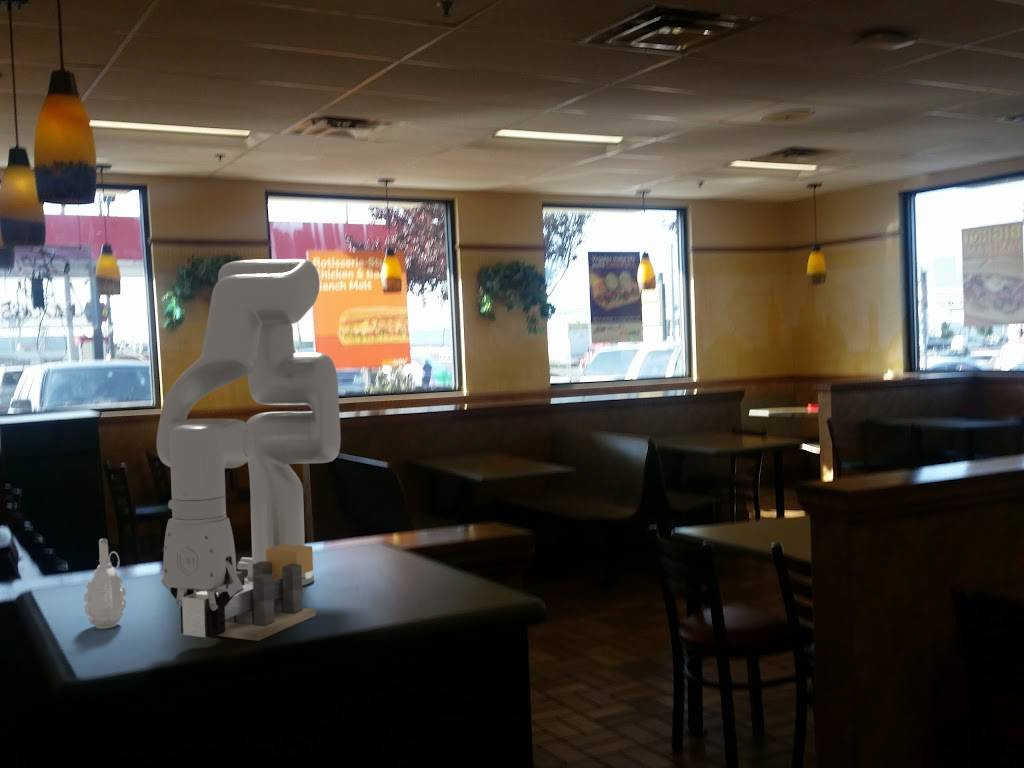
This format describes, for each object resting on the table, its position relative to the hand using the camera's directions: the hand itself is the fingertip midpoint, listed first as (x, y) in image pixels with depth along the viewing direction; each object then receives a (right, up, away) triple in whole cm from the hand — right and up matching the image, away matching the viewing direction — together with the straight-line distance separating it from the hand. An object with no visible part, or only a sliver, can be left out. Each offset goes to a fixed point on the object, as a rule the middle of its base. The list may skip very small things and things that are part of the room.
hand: (203, 632), depth 152 cm
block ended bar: (+4, 0, +9) cm, 10 cm away
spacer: (+9, +5, +20) cm, 22 cm away
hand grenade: (-19, -2, +12) cm, 22 cm away
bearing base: (+5, -2, +13) cm, 14 cm away
